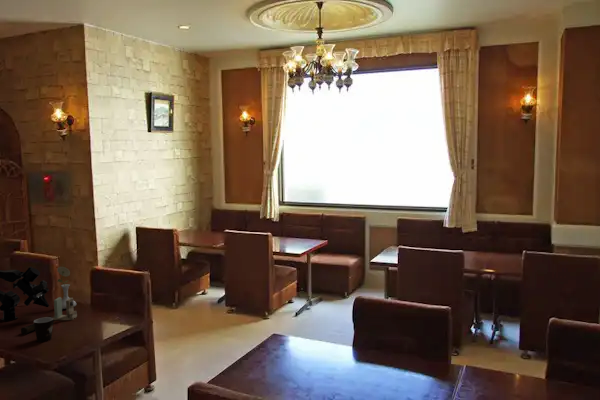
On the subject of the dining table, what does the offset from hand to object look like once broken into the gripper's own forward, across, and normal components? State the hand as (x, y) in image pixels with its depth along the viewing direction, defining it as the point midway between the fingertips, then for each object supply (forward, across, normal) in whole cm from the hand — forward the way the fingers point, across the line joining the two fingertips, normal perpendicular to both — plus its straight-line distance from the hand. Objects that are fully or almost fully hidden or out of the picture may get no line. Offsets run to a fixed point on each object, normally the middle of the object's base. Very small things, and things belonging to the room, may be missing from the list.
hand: (48, 306), depth 280 cm
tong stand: (+11, 0, -1) cm, 11 cm away
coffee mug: (+15, -32, -4) cm, 35 cm away
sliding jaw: (+7, 0, +1) cm, 7 cm away
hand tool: (+6, -16, +4) cm, 18 cm away
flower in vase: (+5, +21, +5) cm, 22 cm away
